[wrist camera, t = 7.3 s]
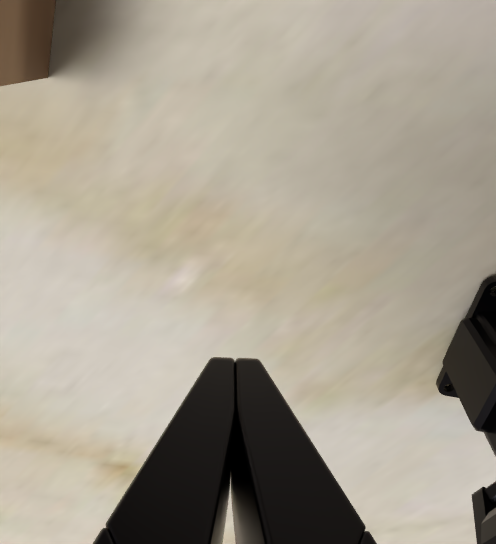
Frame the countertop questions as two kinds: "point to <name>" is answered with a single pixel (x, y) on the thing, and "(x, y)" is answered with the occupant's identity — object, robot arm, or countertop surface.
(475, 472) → the countertop surface
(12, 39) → the walnut cube
